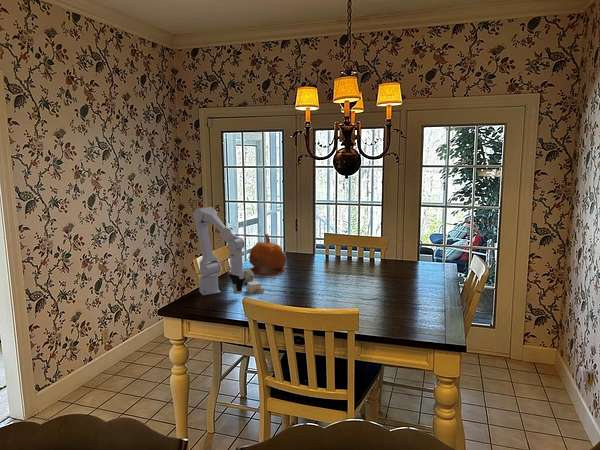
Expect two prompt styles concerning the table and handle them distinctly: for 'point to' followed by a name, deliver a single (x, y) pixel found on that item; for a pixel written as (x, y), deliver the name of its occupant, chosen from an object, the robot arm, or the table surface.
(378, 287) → the table surface
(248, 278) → the game die
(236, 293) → the green capsule
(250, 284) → the cream block
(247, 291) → the birch base block
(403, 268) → the table surface
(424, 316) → the table surface
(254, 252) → the pumpkin
